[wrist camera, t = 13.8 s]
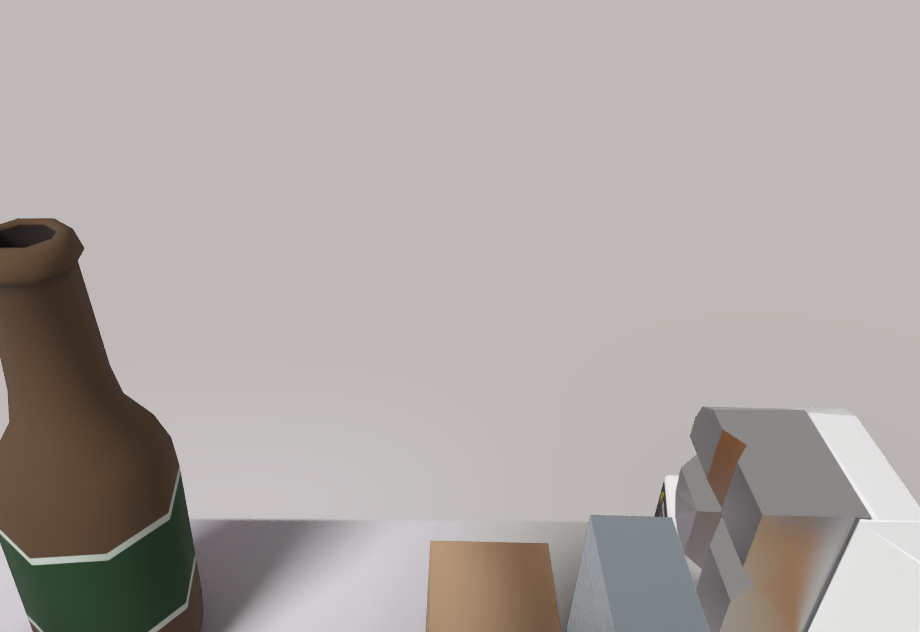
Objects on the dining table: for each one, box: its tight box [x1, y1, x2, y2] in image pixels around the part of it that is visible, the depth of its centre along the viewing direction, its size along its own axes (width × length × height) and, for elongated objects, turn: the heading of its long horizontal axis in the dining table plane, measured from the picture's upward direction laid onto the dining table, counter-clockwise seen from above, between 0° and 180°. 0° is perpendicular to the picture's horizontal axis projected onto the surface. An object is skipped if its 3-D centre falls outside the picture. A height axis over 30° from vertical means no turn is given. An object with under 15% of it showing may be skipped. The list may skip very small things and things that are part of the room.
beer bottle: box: [0, 218, 203, 632], centre depth 35 cm, size 8×8×24 cm
